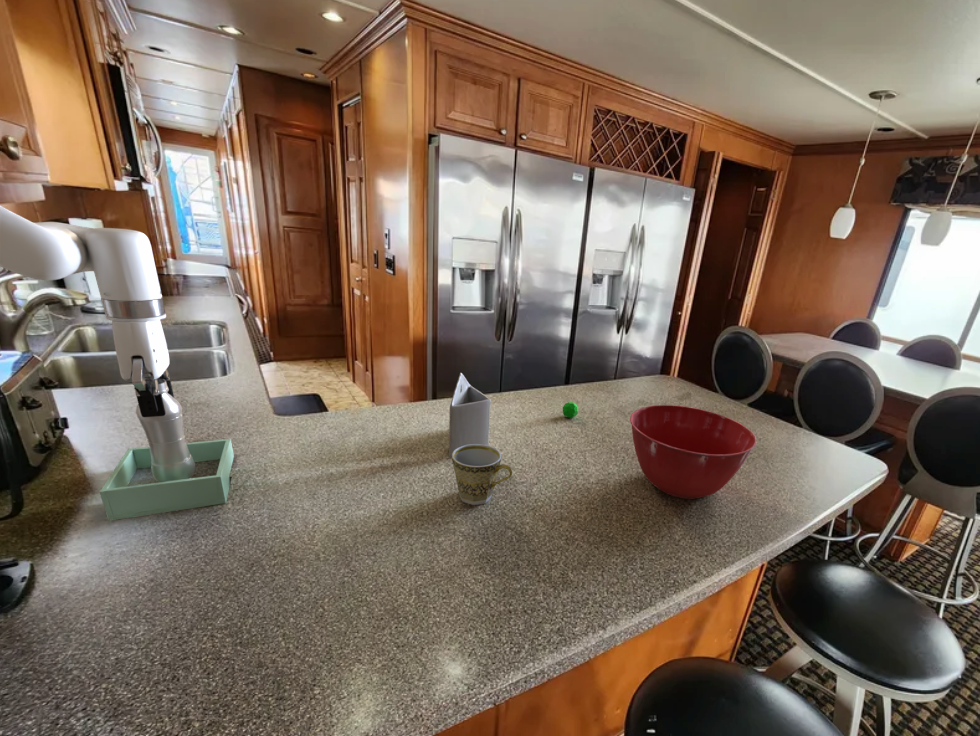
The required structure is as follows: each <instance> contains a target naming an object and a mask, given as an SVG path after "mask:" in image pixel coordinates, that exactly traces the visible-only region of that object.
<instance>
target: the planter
mask: <svg viewBox="0 0 980 736" xmlns="http://www.w3.org/2000/svg"><path fill="white" fill-rule="evenodd" d="M491 402H492V401H491V398H490V397H488V396H487V395H486V394H484V393H482V392H481V391H480V390H478V389H477V388H475V387H473V386H472V385H471V384H470V383H469V381H468V380H467V378H466V377H465V375H464V373H462V372H460V373H459V376H458V378H457V382H456V384H455V388H454V391H453V395H452V398H451V401H450V405H449V418H448V419H449V420H448V421H449V423H448V425H449V426H448V431H449V432H448V458H449V459H452V453H453V451H454V450H455V449H457V448H459V447H461V446H464V445H470V444H482V445H488V446H489V443H490V440H489V439H490V419H491Z"/></svg>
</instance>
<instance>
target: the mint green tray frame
mask: <svg viewBox="0 0 980 736" xmlns="http://www.w3.org/2000/svg"><path fill="white" fill-rule="evenodd" d="M186 444H187V447H188V450H189V452H190V454H191V456H192V458H193V460H194V463H200V462H201V463H202V462H209V461H218V460H219V464H218V467H217V471H216V473H215V475H208V476H199V477H192V478H190V479H182V480H174V481H166V482H158V481H157V482H153V483H152V482H151V483H144V484H136V485H129V484H130V482H131V480H132V479H133V477H134V475H136V472H137V470H138V469H147V468H151V461H152V460H151V454H150V447H149V446H142V447H132V448H131V447H130V448H127V450H126V451H125V452H124V454H123V456H122V457H121V459H120V460H119V462H118V463H117V465H116V467H115V468H114V469H113V471H112V472H111V474H110V475H109V477H108V478H107V480H106V481H105V482H104V484H103V486H102V487H101V488H100V490H99V495H100V499H101V501H102V504H103V508H104V511H105V514H106V517H107V520H108V521H109V522H110V521H116V520H123V519H130V518H135V517H143V516H150V515H156V514H163V513H170V512H176V511H183V510H189V509H197V508H203V507H210V506H216V505H217V506H218V505H223V504H227V500H228V496H229V491H230V487H231V483H232V476H230V475H231V470H232V466H233V461H234V457H235V455H234V449H233V445H232V444H233V443H232V439H231V438H226V439H225V438H224V439H215V440H204V441H203V440H202V441H193V442H186Z"/></svg>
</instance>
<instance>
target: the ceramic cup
mask: <svg viewBox="0 0 980 736" xmlns="http://www.w3.org/2000/svg"><path fill="white" fill-rule="evenodd" d="M502 455H503V454H502V452H501V451H500V450H499V449H497V448H496V447H493V446H491V445H489V444H488V445H482V444H470V445H464V446H461V447H459V448H457V449H455V450H454V451H453V453H452V458H451V459H452V465H453V470H454V474H455V480H456V485H457V492H458V497H459V498H460V501H461V502H462V503H465V504H468V505H471V506H478V505H484V504H487V503H488V502H489V501H490V500H491V499H492V496H493V491H494V489H495V487H496V486H497V485H499V484H500V483H502V482H504V481H506V480H509V479H510V478H511V477H512V475H513V470H512V468H511V467H510V465H508V464H506V463H505V464H504V463H503V464H501V463H502V457H503V456H502ZM502 469H505V470H507V471H508V472H509V475H508V476H506V477H503V478H501V479H500V480H498V481H496V480H497V477H498V474H499V471H500V470H502Z"/></svg>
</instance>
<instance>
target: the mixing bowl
mask: <svg viewBox="0 0 980 736" xmlns="http://www.w3.org/2000/svg"><path fill="white" fill-rule="evenodd" d="M629 422H630V424H631V433H632V441H633V446H634V451H635V455H636V457H637V461H638V464H639V465H640V469H641V471H642V474H643V475H644V476H645V478H646V479H647V481H648V482H650V483H651V484H652V485H653V486H654V487H655V488H657V489H658V490H659V491H661V492H664V493H665V494H667V495H670V496H672V497H676V498H680V499H687V500H693V499H700V498H705V497H708V496H711V495H713V494H715V493H717V492H718V491H720V490H722V489H723V487H725V486H726V485H727V484H728V483H729V482H730V481H731V480H732V479H733V477H734V476H735V475H736V474H737V473H738V472H739V470H740V469H741V467H742V466H743V464H744V463H745V462H746V460H747V458H748V457H749V455H750V453H751V452H752V450H753V449H754V448H755V447H756V446H757V438H756V435H755V434H754V433H753V431H752V430H750V429H749V428H748V427H746V425H743V424H742V423H740V422H738V421H736V420H734V419H732V418H729V417H727V416H725V415H722V414H719V413H715V412H712V411H709V410H705V409H701V408H696V407H691V406H684V405H674V404H658V405H657V404H656V405H649V406H644V407H640V408H638V409H636V410H635V411H633V412H632V414H631V415H630V417H629Z"/></svg>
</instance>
